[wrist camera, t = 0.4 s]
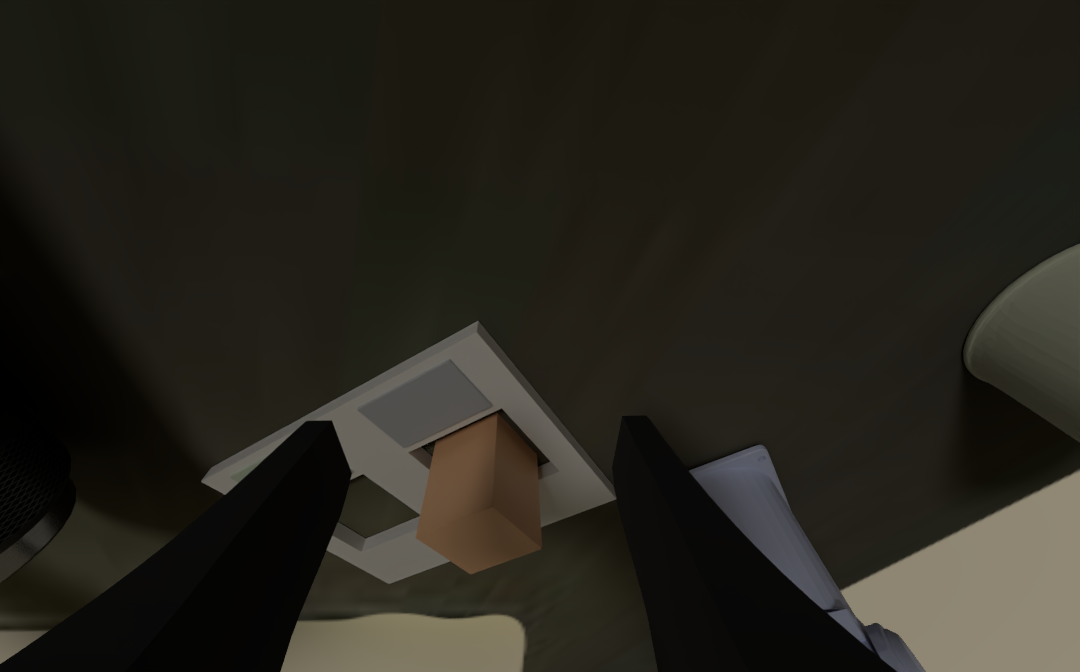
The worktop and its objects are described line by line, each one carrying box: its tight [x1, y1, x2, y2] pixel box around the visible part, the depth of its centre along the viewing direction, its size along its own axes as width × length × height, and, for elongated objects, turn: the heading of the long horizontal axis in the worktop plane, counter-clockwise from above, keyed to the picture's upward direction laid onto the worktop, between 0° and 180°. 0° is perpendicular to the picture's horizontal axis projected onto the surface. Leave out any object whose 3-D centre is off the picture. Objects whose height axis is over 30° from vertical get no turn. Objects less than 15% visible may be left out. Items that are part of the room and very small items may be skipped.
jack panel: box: [201, 321, 616, 584], centre depth 26 cm, size 16×20×1 cm
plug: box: [415, 413, 542, 574], centre depth 22 cm, size 4×5×6 cm
